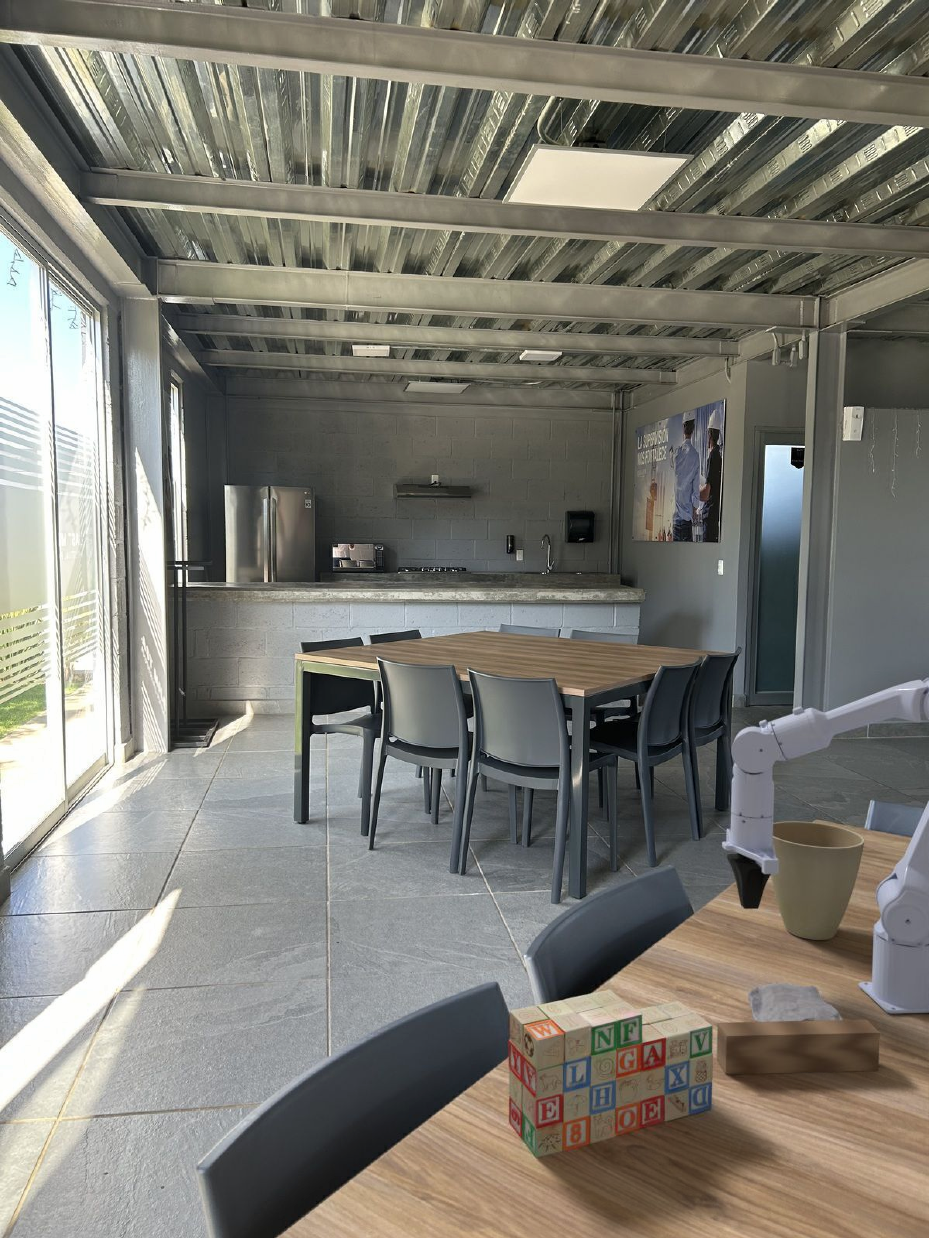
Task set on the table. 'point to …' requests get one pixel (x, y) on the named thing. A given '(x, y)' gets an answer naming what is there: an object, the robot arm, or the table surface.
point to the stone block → (789, 1004)
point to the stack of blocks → (604, 1069)
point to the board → (797, 1046)
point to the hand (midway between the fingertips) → (749, 907)
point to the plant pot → (814, 876)
